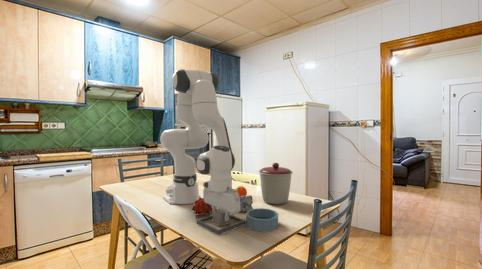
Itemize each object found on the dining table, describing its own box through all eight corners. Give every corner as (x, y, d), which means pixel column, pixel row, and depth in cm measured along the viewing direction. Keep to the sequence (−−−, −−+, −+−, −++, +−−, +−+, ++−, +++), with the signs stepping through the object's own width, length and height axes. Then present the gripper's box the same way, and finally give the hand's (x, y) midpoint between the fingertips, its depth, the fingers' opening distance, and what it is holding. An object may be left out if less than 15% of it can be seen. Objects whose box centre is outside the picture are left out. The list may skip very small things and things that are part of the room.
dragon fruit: (217, 215, 115) (193, 224, 108) (209, 201, 120) (186, 209, 113) (220, 204, 110) (196, 213, 103) (212, 190, 115) (188, 198, 108)
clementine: (239, 201, 130) (239, 188, 130) (230, 198, 135) (230, 186, 135) (249, 198, 136) (249, 185, 136) (240, 195, 141) (240, 183, 141)
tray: (196, 223, 101) (196, 219, 100) (223, 214, 110) (223, 211, 110) (218, 235, 90) (218, 230, 90) (245, 224, 100) (245, 220, 100)
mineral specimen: (239, 221, 116) (251, 210, 123) (247, 214, 110) (259, 203, 118) (226, 206, 118) (239, 195, 125) (234, 198, 113) (246, 188, 120)
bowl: (239, 224, 100) (239, 213, 100) (260, 216, 109) (260, 206, 109) (263, 234, 91) (263, 222, 91) (284, 224, 100) (284, 214, 100)
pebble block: (212, 222, 101) (212, 210, 100) (221, 219, 104) (221, 208, 104) (220, 226, 97) (220, 214, 97) (229, 222, 100) (229, 211, 100)
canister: (275, 195, 143) (275, 159, 142) (299, 203, 128) (300, 163, 128) (251, 200, 132) (251, 162, 131) (275, 209, 118) (275, 166, 117)
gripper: (244, 188, 95) (243, 223, 95) (212, 179, 109) (212, 210, 110) (232, 191, 90) (232, 228, 91) (200, 182, 105) (200, 213, 106)
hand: (220, 218), depth 100 cm, fingers closed on pebble block, 5 cm apart
